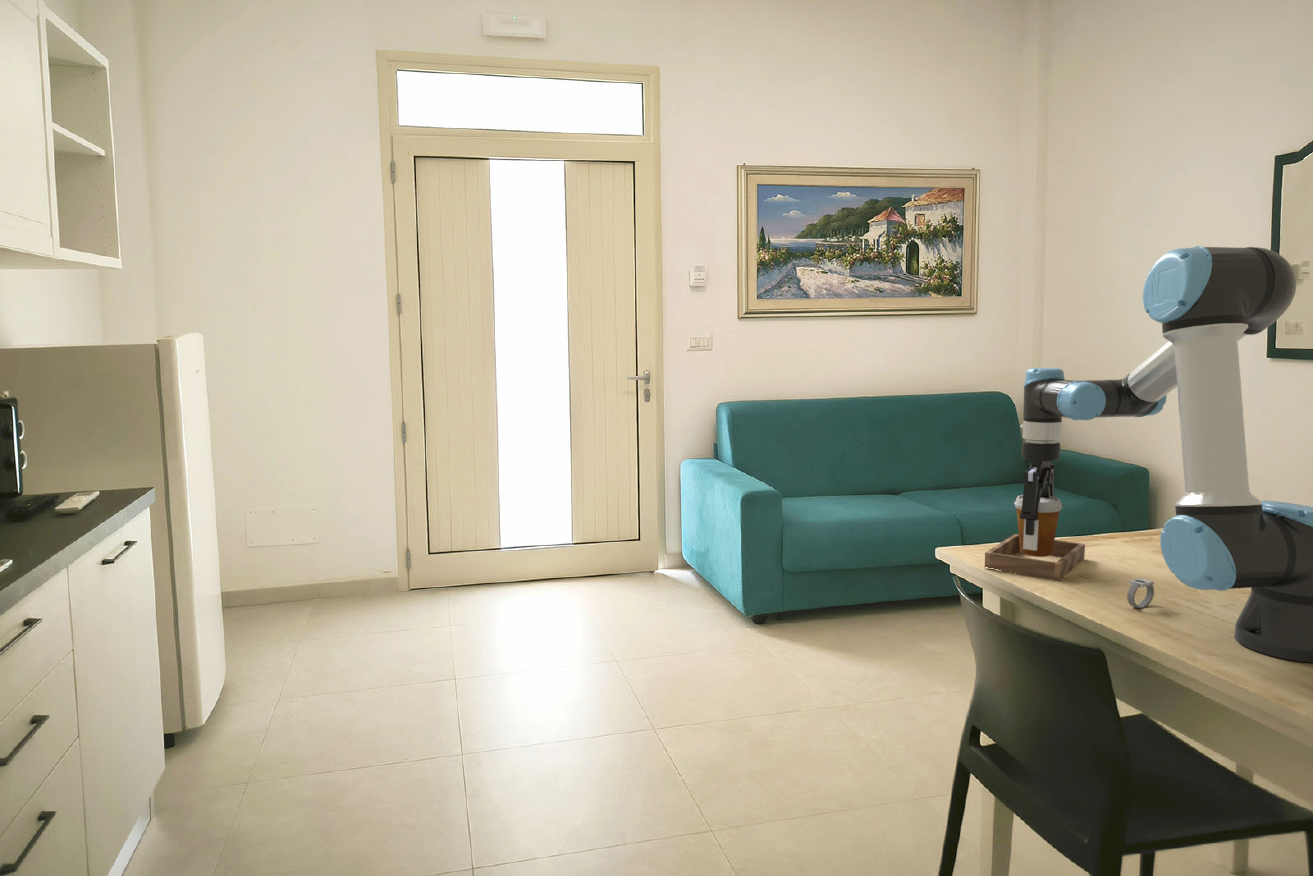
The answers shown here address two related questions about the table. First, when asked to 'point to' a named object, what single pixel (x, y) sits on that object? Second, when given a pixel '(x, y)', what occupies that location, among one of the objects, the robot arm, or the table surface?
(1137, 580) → the wristwatch
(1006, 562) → the rectangular wooden frame
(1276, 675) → the table surface
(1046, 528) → the disposable coffee cup
